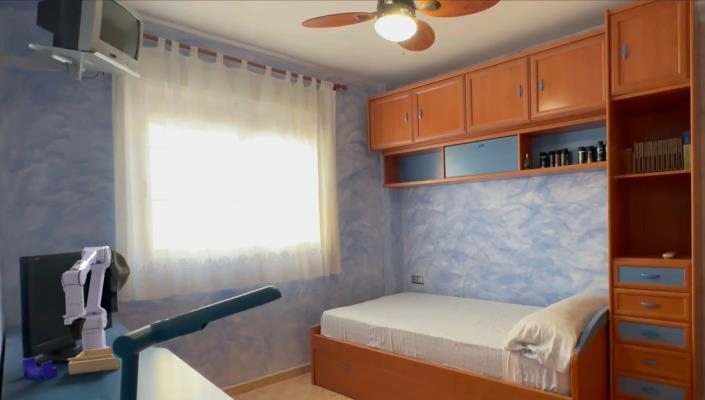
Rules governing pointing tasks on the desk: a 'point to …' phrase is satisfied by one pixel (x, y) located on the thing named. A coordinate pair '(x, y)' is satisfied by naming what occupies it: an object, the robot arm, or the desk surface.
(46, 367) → the cable clip
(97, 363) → the carton
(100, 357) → the carton flap
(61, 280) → the robot arm
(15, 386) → the desk surface
